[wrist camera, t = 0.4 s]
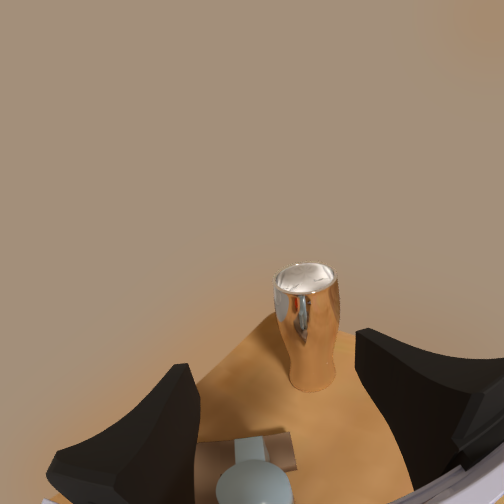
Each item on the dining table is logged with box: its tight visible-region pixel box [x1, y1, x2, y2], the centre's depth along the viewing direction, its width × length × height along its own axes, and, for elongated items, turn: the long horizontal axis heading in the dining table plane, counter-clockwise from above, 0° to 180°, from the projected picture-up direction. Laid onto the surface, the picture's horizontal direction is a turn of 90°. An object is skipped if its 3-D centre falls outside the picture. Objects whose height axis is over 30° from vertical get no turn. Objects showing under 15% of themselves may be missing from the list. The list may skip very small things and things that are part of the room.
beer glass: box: [272, 261, 340, 392], centre depth 30 cm, size 7×7×15 cm
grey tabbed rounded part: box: [216, 436, 295, 504], centre depth 17 cm, size 9×6×7 cm, turn 4°
